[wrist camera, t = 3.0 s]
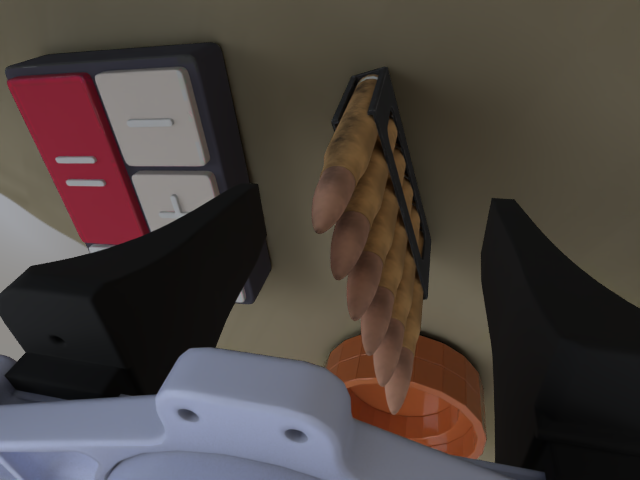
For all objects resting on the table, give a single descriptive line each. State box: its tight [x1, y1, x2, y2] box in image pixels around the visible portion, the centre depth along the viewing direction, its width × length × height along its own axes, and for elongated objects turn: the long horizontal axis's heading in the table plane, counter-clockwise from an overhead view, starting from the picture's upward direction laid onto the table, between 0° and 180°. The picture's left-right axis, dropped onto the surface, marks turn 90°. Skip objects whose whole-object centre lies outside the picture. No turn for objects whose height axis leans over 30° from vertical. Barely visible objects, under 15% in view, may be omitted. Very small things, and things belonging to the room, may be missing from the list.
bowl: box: [325, 335, 487, 459], centre depth 33 cm, size 12×12×4 cm
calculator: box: [5, 42, 271, 304], centre depth 26 cm, size 11×4×15 cm
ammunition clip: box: [312, 67, 431, 415], centre depth 19 cm, size 11×2×12 cm, turn 20°
